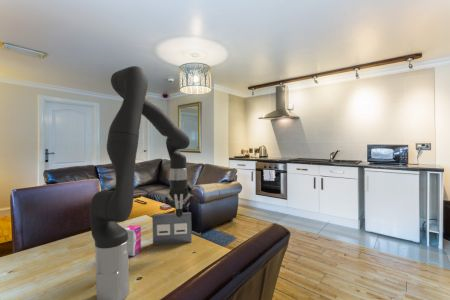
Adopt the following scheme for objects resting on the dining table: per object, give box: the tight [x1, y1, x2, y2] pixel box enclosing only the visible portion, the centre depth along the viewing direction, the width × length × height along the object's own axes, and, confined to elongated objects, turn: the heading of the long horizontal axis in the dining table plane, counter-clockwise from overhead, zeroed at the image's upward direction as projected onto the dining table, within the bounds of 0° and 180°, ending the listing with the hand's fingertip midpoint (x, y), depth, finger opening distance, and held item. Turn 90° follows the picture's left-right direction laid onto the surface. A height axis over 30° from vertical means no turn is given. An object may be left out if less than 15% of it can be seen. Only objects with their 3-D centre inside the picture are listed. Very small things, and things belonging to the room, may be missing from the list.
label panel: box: [151, 211, 193, 246], centre depth 109 cm, size 2×18×14 cm, turn 98°
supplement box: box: [124, 224, 142, 258], centre depth 99 cm, size 6×6×12 cm
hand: (179, 216), depth 101 cm, fingers closed
